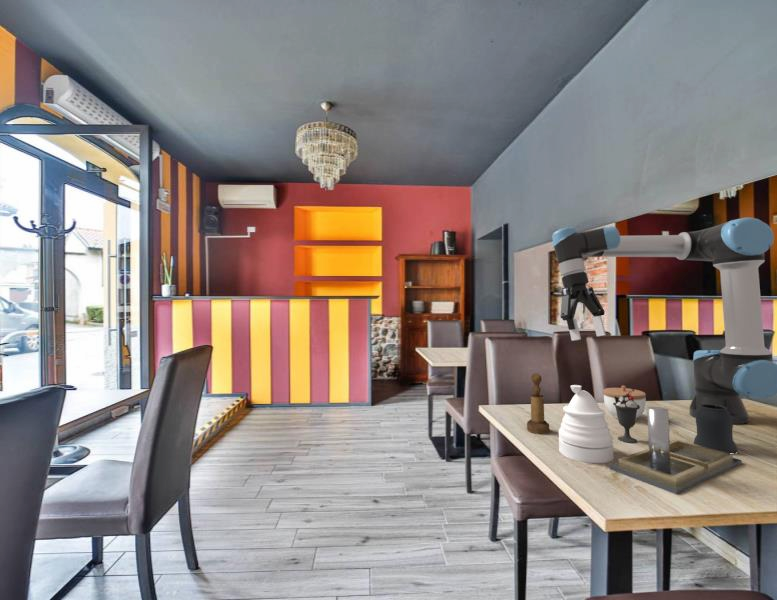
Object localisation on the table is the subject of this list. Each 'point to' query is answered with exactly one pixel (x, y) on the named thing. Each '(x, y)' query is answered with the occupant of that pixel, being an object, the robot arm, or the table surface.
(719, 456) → the olive compartment tray
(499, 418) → the table surface
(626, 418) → the sundae
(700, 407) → the mug
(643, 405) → the lidded bowl
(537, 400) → the brown pedestal figurine
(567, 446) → the honey pot
